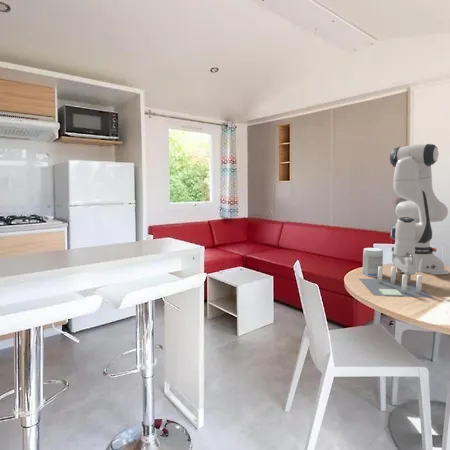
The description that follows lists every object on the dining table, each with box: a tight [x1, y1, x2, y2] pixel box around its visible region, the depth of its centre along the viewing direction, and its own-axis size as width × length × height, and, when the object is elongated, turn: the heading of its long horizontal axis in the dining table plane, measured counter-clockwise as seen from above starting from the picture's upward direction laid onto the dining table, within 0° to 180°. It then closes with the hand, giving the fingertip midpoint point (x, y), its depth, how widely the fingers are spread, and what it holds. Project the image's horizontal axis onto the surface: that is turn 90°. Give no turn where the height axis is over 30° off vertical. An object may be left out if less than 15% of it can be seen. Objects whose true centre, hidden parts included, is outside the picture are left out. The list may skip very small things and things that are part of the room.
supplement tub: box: [362, 247, 384, 278], centre depth 178 cm, size 10×10×15 cm
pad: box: [379, 289, 403, 297], centre depth 148 cm, size 8×8×1 cm
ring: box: [395, 271, 412, 283], centre depth 165 cm, size 6×6×4 cm
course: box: [358, 266, 434, 299], centre depth 156 cm, size 24×26×9 cm
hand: (402, 278), depth 165 cm, fingers closed on ring, 6 cm apart
